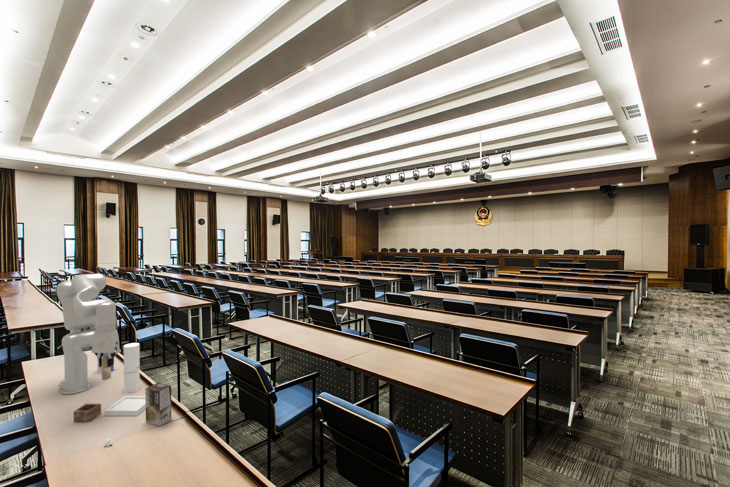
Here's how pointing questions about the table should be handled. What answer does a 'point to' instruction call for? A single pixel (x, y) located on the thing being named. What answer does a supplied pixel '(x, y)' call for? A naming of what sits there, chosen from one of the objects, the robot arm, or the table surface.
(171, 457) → the table surface
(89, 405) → the square wooden box
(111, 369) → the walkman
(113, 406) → the tray
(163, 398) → the coffee box
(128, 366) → the cylindrical container
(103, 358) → the dowel
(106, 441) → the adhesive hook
